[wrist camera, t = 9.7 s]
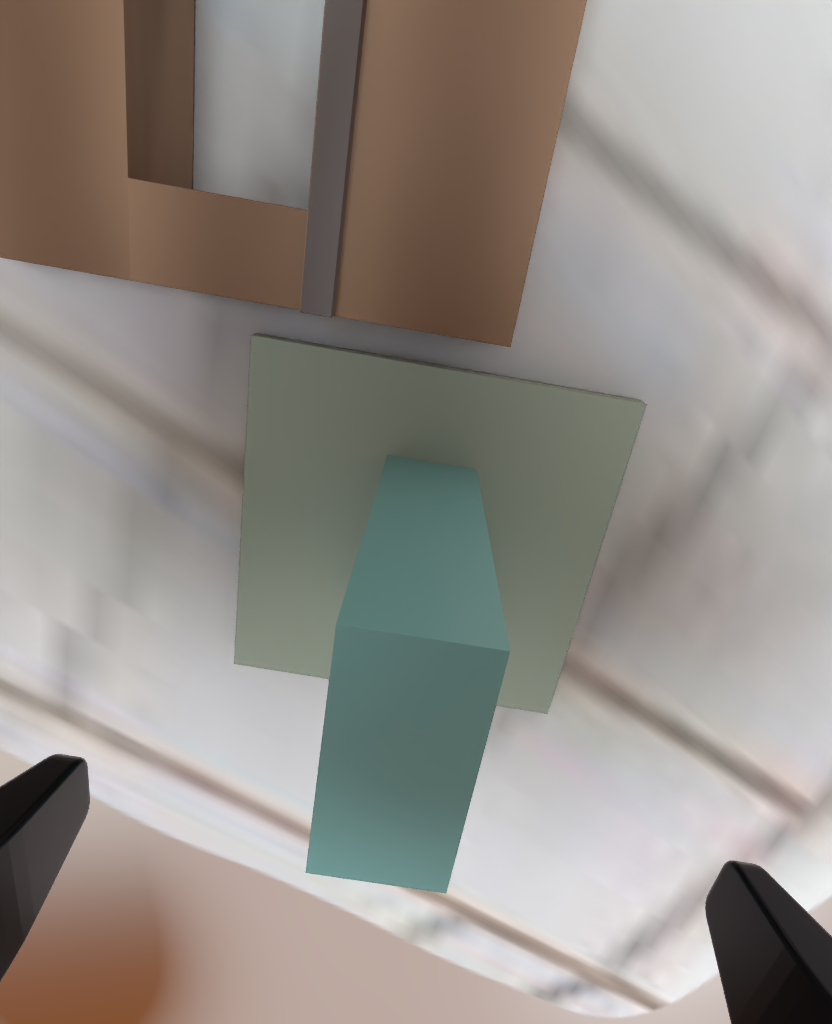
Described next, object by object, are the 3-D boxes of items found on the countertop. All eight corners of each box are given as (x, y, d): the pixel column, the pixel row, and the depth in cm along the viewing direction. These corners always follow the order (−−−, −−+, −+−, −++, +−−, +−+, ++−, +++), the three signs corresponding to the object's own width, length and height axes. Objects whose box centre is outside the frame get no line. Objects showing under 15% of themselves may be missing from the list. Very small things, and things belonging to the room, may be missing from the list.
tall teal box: (364, 614, 17) (305, 872, 10) (387, 454, 15) (336, 624, 8) (443, 626, 17) (446, 893, 10) (476, 469, 15) (510, 651, 8)
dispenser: (16, 248, 14) (-106, 240, 11) (-40, -355, 10) (-253, -636, 7) (496, 333, 14) (512, 349, 11) (613, -225, 11) (687, -436, 7)
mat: (239, 654, 18) (234, 663, 18) (257, 333, 15) (251, 335, 14) (544, 702, 19) (547, 713, 18) (640, 400, 15) (646, 404, 14)
